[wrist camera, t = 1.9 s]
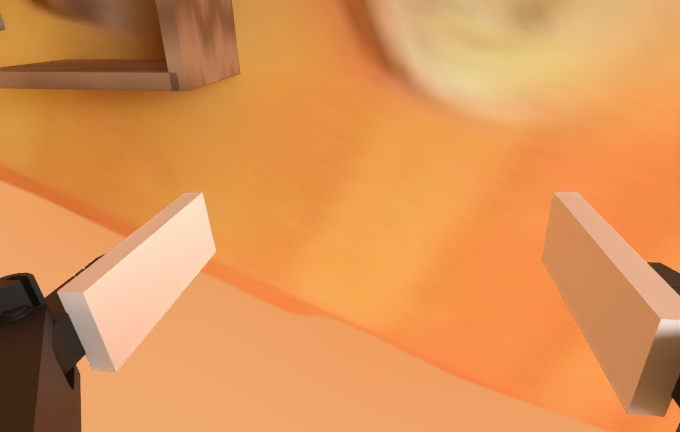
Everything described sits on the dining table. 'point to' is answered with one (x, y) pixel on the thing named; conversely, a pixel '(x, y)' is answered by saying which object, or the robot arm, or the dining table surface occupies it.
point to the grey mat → (1, 24)
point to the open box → (171, 74)
